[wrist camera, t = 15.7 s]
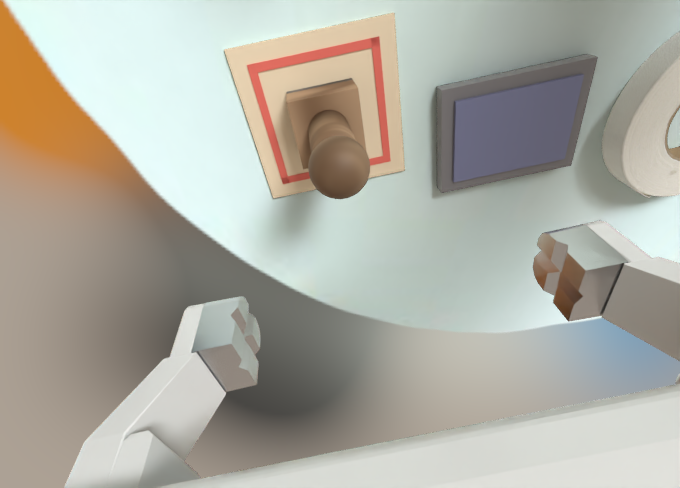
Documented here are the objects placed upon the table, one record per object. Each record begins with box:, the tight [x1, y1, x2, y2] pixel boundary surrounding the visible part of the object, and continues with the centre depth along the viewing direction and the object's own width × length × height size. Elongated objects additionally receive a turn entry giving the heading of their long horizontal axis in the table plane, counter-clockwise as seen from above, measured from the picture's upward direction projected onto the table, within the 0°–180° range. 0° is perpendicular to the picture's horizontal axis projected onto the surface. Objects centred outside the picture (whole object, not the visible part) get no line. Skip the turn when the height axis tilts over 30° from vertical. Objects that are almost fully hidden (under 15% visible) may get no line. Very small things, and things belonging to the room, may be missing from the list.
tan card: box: [224, 13, 405, 198], centre depth 28 cm, size 12×12×1 cm
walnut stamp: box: [286, 78, 370, 199], centre depth 24 cm, size 5×5×11 cm
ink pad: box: [437, 54, 598, 193], centre depth 30 cm, size 12×9×2 cm
